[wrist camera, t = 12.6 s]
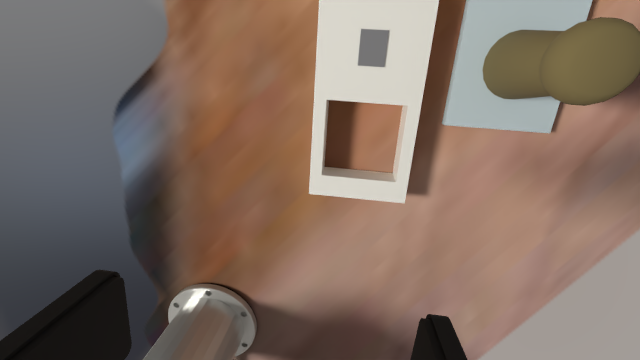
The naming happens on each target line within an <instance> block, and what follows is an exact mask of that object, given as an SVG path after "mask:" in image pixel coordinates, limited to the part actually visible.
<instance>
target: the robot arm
mask: <svg viewBox="0 0 640 360" xmlns="http://www.w3.org/2000/svg"><path fill="white" fill-rule="evenodd" d="M168 319H169V325H168V327H167V328H166V329H165V331H164V332H163V333H162V335H161V336H160V338H159V339H158V340H157V342H156V343H155V344H154V346H153V347H152V348H151V350H150V351H149V352H148V354H147V355H146V357H145V358H144V359H143V360H233V359H234V357H235V356H238V355H240V354H242V353H244V352H245V351H246V350H247V349H248V348H249V347H250V346H251V344H252V343H253V340H254V338H255V335H256V331H257V322H256V318H255V315H254V313H253V311H252V309H251V308H250V306H249V305H248V304H247V302H246V301H245V300H243V299H242V298H241V297H240V296H239V295H237V294H236V293H235V292H233V291H231V290H229V289H227V288H224V287H221V286H218V285H213V284H196V285H192V286H189V287H187V288H185V289H183V290H182V291H180V292H179V293H178V295H177V296H176V297H175V298H174V299H173V301H172V302H171V304H170V307H169V311H168ZM130 349H131V336H130V327H129V318H128V310H127V303H126V294H125V287H124V280H123V278H120V275H119V273H117V272H112V271H105V270H96V271H94V272H93V273H92V274H90V275H89V276H87V277H86V278H85V279H83V280H82V281H81V282H79V283H78V284H76V285H75V286H74V287H72V288H71V289H70V290H69V291H67V292H66V293H64V294H63V295H62V296H60V297H59V298H58V299H56V300H55V301H54V302H52V303H51V304H49V305H48V306H47V307H45V308H44V309H43V310H42V311H40V312H39V313H37V314H36V315H35V316H33V317H32V318H31V319H29V320H28V321H26V322H25V323H24V324H22V325H21V326H20V327H18V328H17V329H16V330H14V331H13V332H12V333H10V334H9V335H8V336H6V337H5V338H4V339H2V340H1V341H0V360H124V359H125V358H126V357H127V355H128V354H129V352H130ZM411 360H467V358H466V355H465V353H464V351H463V348H462V346H461V344H460V342H459V339H458V337H457V335H456V332H455V330H454V328H453V325H452V323H451V321H450V319H449V318H448V317H447V316H439V315H432V314H428V315H427V316H426V319H423V318H421V319H420V322H419V326H418V330H417V334H416V339H415V343H414V347H413V351H412V356H411Z"/></svg>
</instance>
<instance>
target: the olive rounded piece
mask: <svg viewBox="0 0 640 360" xmlns="http://www.w3.org/2000/svg"><path fill="white" fill-rule="evenodd" d="M639 73H640V32H639V31H638V29H637V28H636V27H635V26H634V25H633V24H631V23H629V22H627V21H624V20H622V19H618V18H603V17H600V18H595V19H591V20H588V21H584V22H580V23H577V24H576V25H574V26H572V27H571V28H569V29H567V30H565V31H549V30H518V31H514V32H510V33H508V34H507V35H505V36H503V37H502V38H500V39H499V40H498V41H497V42H496V43H495V44H494V45H493V46H492V47H491V48H490V50H489V52H488V54H487V55H486V57H485V60H484V65H483V80H484V82H485V84H486V86H487V88H488V89H489V90H490V91H491V92H492V93H493V94H494V95H496V96H498V97H501V98H503V99H525V98H536V97H547V96H551V97H553V98H554V99H556V100H558V101H561V102H563V103H565V104H570V105H583V106H585V105H590V104H595V103H599V102H604V101H606V100H608V99H610V98H612V97H614V96H616V95H618V94H619V93H621V92H622V91H623V90H624V89H626V88H627V87H628V86H629V85H630V84H632V83H633V81H634V80H635V79H636V77H637V76H638V75H639Z"/></svg>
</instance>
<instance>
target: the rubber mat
mask: <svg viewBox="0 0 640 360" xmlns="http://www.w3.org/2000/svg"><path fill="white" fill-rule="evenodd" d="M592 1H593V0H466V4H465V9H464V14H463V19H462V24H461V29H460V34H459V39H458V44H457V49H456V55H455V60H454V65H453V70H452V75H451V80H450V85H449V90H448V95H447V100H446V106H445V111H444V116H443V121H442V124H444V125H450V126H463V127H476V128H489V129H501V130H514V131H527V132H540V133H550V132H551V129H552V126H553V123H554V120H555V116H556V113H557V110H558V107H559V104H560V101H558V100H556V99H554V98H553V97H551V96H547V97H536V98H525V99H503V98H501V97H498V96H496V95H494V94H493V93H492V92H491V91H490V90H489V89H488V88H487V86H486V84H485V82H484V80H483V65H484V60H485V57H486V55H487V54H488V52H489V50H490V48H491V47H492V46H493V45H494V44H495V43H496V42H497V41H498V40H499V39H500V38H502V37H503V36H505V35H507V34H508V33H510V32H514V31H518V30H549V31H565V30H567V29H569V28H571V27H572V26H574V25H576V24H577V23H580V22H584V21H586V19H587V16H588V13H589V10H590V7H591V4H592Z"/></svg>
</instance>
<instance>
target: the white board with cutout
mask: <svg viewBox="0 0 640 360" xmlns="http://www.w3.org/2000/svg"><path fill="white" fill-rule="evenodd" d="M438 4H439V0H319V16H318V35H317V54H316V72H315V91H314V110H313V129H312V148H311V166H310V185H309V194H317V195H327V196H337V197H347V198H357V199H367V200H377V201H387V202H397V203H405V198H406V193H407V187H408V181H409V175H410V169H411V163H412V157H413V151H414V146H415V140H416V134H417V128H418V122H419V116H420V110H421V104H422V98H423V93H424V87H425V81H426V75H427V69H428V63H429V57H430V51H431V46H432V40H433V34H434V28H435V22H436V16H437V10H438ZM329 100H338V101H351V102H365V103H378V104H392V105H403V108H402V114H401V121H400V128H399V134H398V141H397V148H396V154H395V161H394V168H393V173H387V172H376V171H365V170H354V169H343V168H333V167H324V165H325V150H326V136H327V121H328V107H329Z"/></svg>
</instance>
